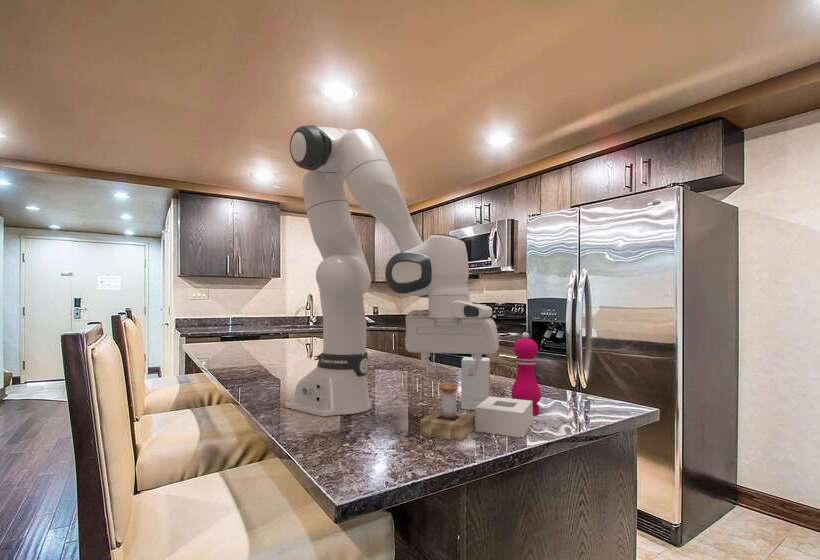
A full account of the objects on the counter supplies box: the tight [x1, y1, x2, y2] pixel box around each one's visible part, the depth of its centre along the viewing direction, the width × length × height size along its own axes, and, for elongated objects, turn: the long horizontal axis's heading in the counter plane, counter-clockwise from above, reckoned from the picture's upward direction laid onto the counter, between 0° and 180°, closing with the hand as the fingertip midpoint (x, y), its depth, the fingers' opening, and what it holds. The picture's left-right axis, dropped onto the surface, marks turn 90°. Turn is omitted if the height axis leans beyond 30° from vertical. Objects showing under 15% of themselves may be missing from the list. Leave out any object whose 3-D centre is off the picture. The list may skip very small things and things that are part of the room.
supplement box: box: [460, 356, 491, 411], centre depth 112 cm, size 7×7×13 cm
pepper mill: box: [510, 331, 542, 416], centre depth 107 cm, size 7×7×20 cm
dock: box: [474, 395, 534, 439], centre depth 94 cm, size 10×12×5 cm
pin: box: [439, 382, 458, 421], centre depth 90 cm, size 4×4×10 cm
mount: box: [419, 409, 475, 442], centre depth 90 cm, size 9×9×3 cm
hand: (451, 374), depth 90 cm, fingers open, 8 cm apart
